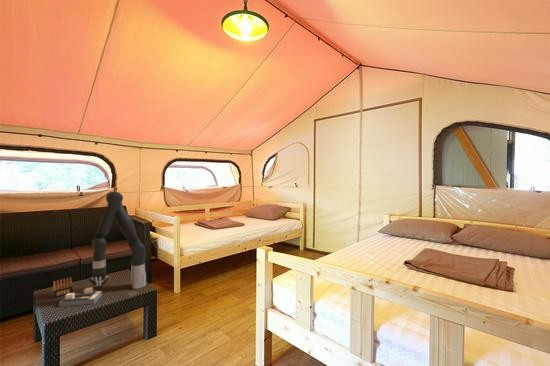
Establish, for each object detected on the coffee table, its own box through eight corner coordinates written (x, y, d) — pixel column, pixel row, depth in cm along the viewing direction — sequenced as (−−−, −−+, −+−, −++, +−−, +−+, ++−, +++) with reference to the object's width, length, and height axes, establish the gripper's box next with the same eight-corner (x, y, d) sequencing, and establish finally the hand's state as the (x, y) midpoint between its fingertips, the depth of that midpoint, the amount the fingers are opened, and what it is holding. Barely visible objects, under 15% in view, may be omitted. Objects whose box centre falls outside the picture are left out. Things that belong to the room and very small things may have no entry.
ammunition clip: (53, 298, 176) (52, 281, 176) (52, 297, 177) (52, 280, 177) (72, 293, 184) (72, 276, 184) (72, 292, 185) (71, 275, 185)
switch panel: (101, 295, 182) (101, 289, 182) (94, 303, 170) (94, 297, 170) (69, 297, 177) (68, 292, 177) (58, 306, 166) (58, 300, 165)
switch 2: (92, 292, 179) (92, 287, 179) (90, 294, 176) (90, 289, 176) (86, 292, 178) (86, 287, 178) (84, 294, 175) (83, 289, 175)
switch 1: (75, 297, 171) (74, 292, 171) (72, 299, 169) (72, 294, 168) (68, 298, 171) (67, 293, 170) (65, 300, 168) (65, 295, 167)
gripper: (112, 263, 183) (112, 287, 184) (90, 264, 180) (91, 289, 181) (107, 267, 176) (108, 292, 177) (85, 268, 173) (86, 294, 174)
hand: (99, 290), depth 179 cm, fingers closed
